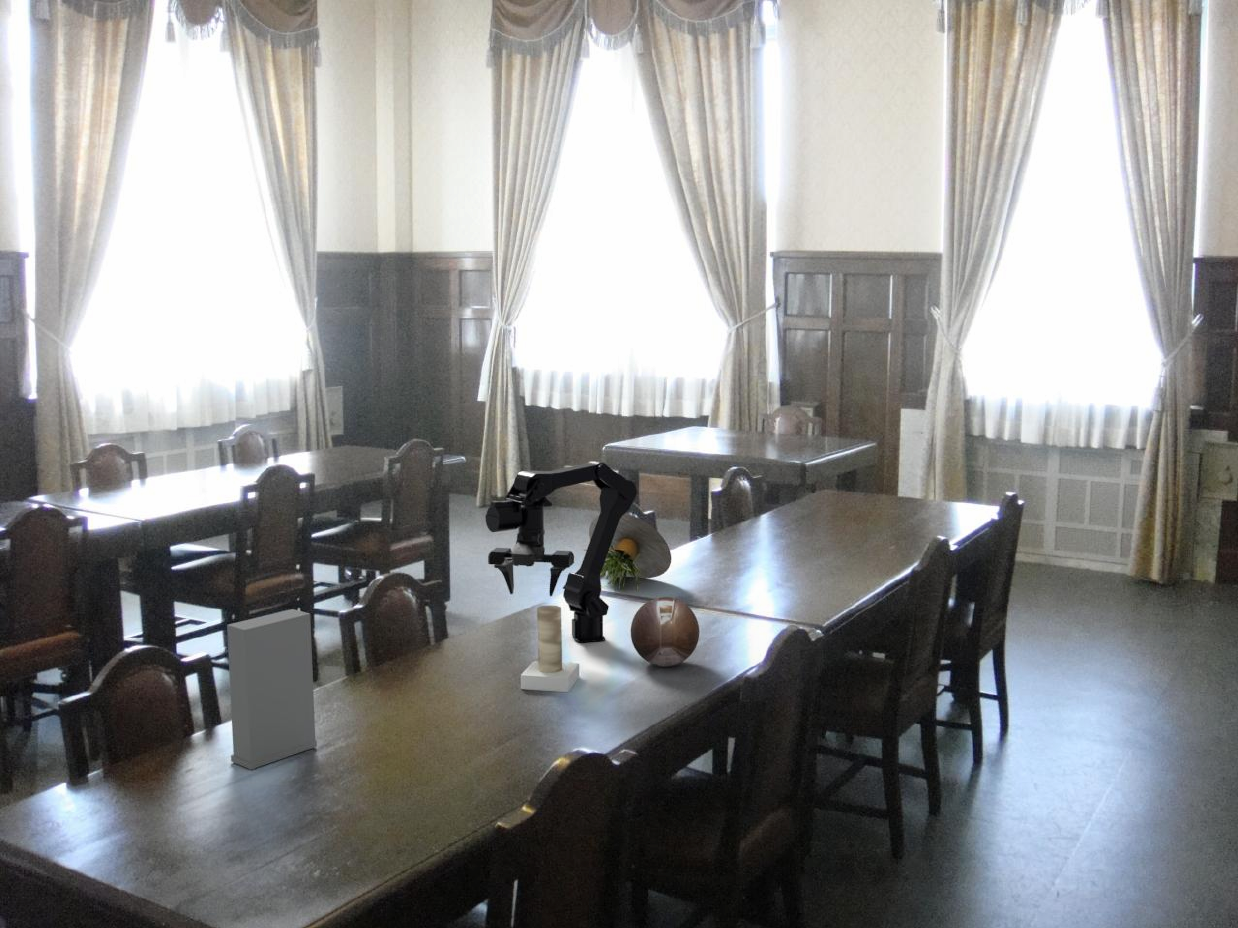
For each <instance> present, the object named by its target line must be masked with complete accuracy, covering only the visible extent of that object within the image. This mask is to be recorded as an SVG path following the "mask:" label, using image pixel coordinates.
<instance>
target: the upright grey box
mask: <svg viewBox="0 0 1238 928" xmlns="http://www.w3.org/2000/svg"><path fill="white" fill-rule="evenodd" d="M226 632H227V633H226V634H227V650H228V651H227V652H228V669H229V671H228V672H229V691H230V709H231V730H232V750H233V751H232V752H233V754H231V755H230V760H231V762H232V763H233V764H236V765H239V766H241V767H244V768H247V769H249V771H254V770H255V769H256V768H259V767H262V766H265V765H268V764H270V763H273V762H276V761H279V760H282V759H285V758H288V757H290V756H293V755H296V754H299V753H302V752H304V751H308V750H313V749H314V748H316V747H317V745H318V744H317V743H318V742H317V740H316V721H315V720H316V719H315V700H314V699H315V698H314V695H315V694H314V676H313V674H314V673H313V672H314V671H313V654H312V653H313V651H312V628H311V613H309V612H305V611H302V610H297V609H294V608H292V609H291V608H290V609H287V610H282V611H278V612H274V613H271V614H270V613H269V614H265V615H262V616H258V617H255V618H250V619H246V620H242V621H238V622H233V623H229V624H226Z"/></svg>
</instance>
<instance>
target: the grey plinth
mask: <svg viewBox="0 0 1238 928" xmlns="http://www.w3.org/2000/svg"><path fill="white" fill-rule="evenodd" d="M579 678H580V663H577V662H576V663H575V662H564V661H562V670H561V671H559V672H554V673H545V672H541V671H539V670H538V660H533V661H532V662H531V663H530V664H529V666H527V667H526V669H525V670H524V671H523V672H522V673H521V674H520V689H521V690H529V691H545V692H559V693H560V692H562V693H569V691H570V690H571V688H572V687H574V685H575V684H576V682H578V680H579Z"/></svg>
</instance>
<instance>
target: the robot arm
mask: <svg viewBox="0 0 1238 928" xmlns="http://www.w3.org/2000/svg"><path fill="white" fill-rule="evenodd" d="M514 478H515V479H514V481H513V483H512V486H511V487H510V489H509V490H508V492H507V494H506V495H505V497H504V499H503V500H492V501H490V507H488V508H487V511H486V514H485V523H486V527H487V528H488V530H489V531H490V532H491V533H497V532H498V533H499V532H504V531H513V530H517V529H518V533H516V535H517V536H516V540H515V541H516V542H515V544H514V546H513V548H512V549H511V547H508V548H507V547H496V548H494V549H492V550H491V551H490V552H489V553H488V556H487V563H488V565H493V567H494V568H495V569H498V570H499V571H500V572H501V574H502V576H503V578H504V580H505V583H506V585H507V589H508V592H509V594H510V595H513V594H514V590H515V589H514V587H515V584H514V582H515V581H514V566H515V567H518V566H526V567H533V566H534V565H535V563H550V564H551V566H552V567H550V568H549V571H550V579H549V580H550V581H549V592H548V593H549V597H553V595H554V593H555V590H556V586H557V584H558V582H559V581H558V580H559V578H560V576H561V574H562V572H564V571H565V570H566V569H568V568H570V567H571V566H572V565H574V564H575V555H574V552H572V551H571V550H556V551H555V552H553V554H551V553H550V554H549V553H545V551H546V550H545V549H546V548H545V544H544V543H545V537H544V535H545V534H546V532H545V529H544V528H545V527H544V525H545V524H544V523H545V517H544V516H545V513H544V511H545V507H548V508H549V507H553V503H552V502H551V501H550V500H549V499H548V498H547V496H549V495H551V494H552V493H554V492H555V491H556V490H558V489H560V488H561V489H562V488H565V487H570V486H574V485H579V484H584V483H588V482H592V483H593V484H594V486H595V487H596V488H597V489H599V490H600V495H599V498H598V499H599V506H600V512H599V515H598V516H599V518H598V521H597V523H596V526H595V529H594V532H593V534H592V537H591V540H590V539H589V544H588V546H587V549H586V550H587V551H585V554H584V557H583V559H582V562H581V565H580V568H579V569H578V570H577V571H576V572H575V573H573V572H569V573H568V575H567V578H566V581H565V584H564V586H563V587H562V589H563V598H564V601H565V603H566V604H567V606H568V608H569V611H571V612H573V618H572V619H571V637H572V638H574V639H575V640H576V641H577V642H578V643H590V642H600V641H602V642H603V641H606V637H605V636H604V629H603V628H604V616H607V614H608V611H609V609H610V606H609V605H608V604H607V603H606V602H605V601H604V600H603V598H601V593H602V582H601V576H600V574H601V573H602V571H603V570H602V568H603V566H604V565H605V564H604V563H605V560H606V557H607V554H608V551H609V549H610V546H611V543H612V540H613V538H614V535H615V532H616V529H617V526H618V524H619V521H620V519H621V517H622V516H623V515H624V514H627V513H628V511H629V510H630V509H631V508H632V505H634V501H635V500H636V498H637V495H638V489H637V486H636V484H635V483H634V482H633V481H632V480H630V479H626V478H625V477H624V476H622V475H621V474H619V473H618V472H617V471H615V470H614V469H612V468H611V467H610V466H609V465H608V464H606V463H605V462H602V461H597V460H591V461H589V462H586V463H582V464H576V465H573V466H567V467H562V468H556V469H553V470H522V471H519V472H518V473H517V474H516V476H515V477H514Z"/></svg>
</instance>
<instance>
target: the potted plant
mask: <svg viewBox="0 0 1238 928" xmlns="http://www.w3.org/2000/svg"><path fill="white" fill-rule="evenodd" d="M598 518H599V515H597V516H596V517H594V519H592V521H591V522H590V525H589V528H588V529H589V530H588V537H589V541H590V540H591V537H592V534H593V532H594V529H595V526H596V523H597V521H598ZM583 551H585V552H586V551H587V549H583ZM671 564H672V553H671V550H670V548H669V545H668V543H667V540H665V538H664V537H663V536H662V535H661V533H660V532H658V530H656V529H655V527H653V526H652V525H651V524H649V523H648V522H646V521H644V520H642V519H641V518H638V517H636V516H633V515H631V514H627V513H625V514H624V515H623V516H622V517H621V519H620V521H619V524H618V526H617V529H616V532H615V535H614V538H613V540H612V543H611V546H610V549H609V551H608V554H607V557H606V560H605V563H604V565H603V568H602V571H601V574H600V577H601V576H602V575H603V576H604V574H606V573H607V571H608V573H607V575H606V577H605V580H608V579H609V578H610V577H609V576H611V578H610V579H609V581H608V582H607V585H609V584H613V590H614V592H617V591H616V582H617V577H618V576H619V584H618V590H620V589H621V585H622V584H623V586H622V589H625V586H626V579H627V575H628V576H630V577H631V578H633V579H634V580H635V582H636V585H637V587H636V590H637V591H638V589H639V586H640V585H639V581H638V579H637V578H640V579H641V578H642V579H645V580H647V579H654V578H657V577H661V576H662V575H664V574H665V573H666V572H668V570H669V569H670V567H671ZM622 581H623V583H622Z"/></svg>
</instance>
